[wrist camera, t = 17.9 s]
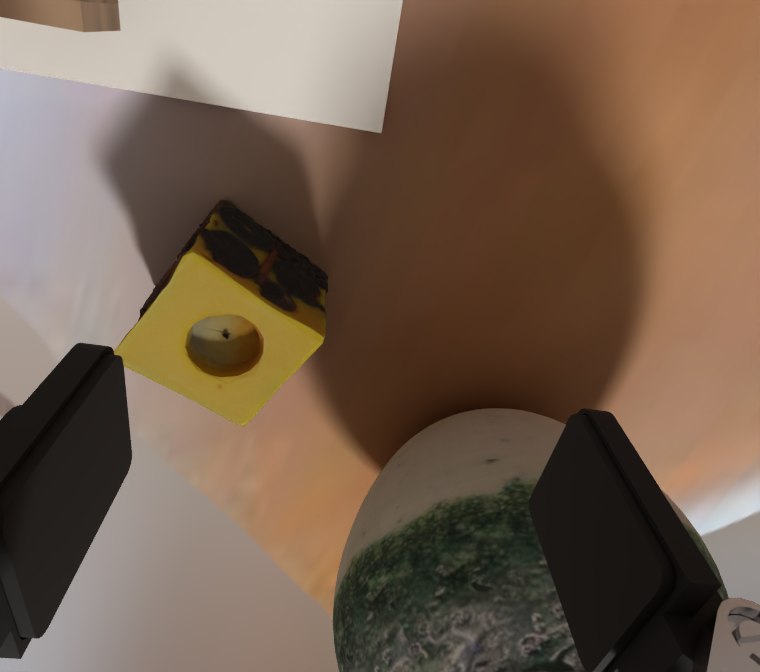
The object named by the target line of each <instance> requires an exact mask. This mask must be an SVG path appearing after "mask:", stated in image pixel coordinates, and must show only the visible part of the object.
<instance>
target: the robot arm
mask: <svg viewBox="0 0 760 672" xmlns="http://www.w3.org/2000/svg"><path fill="white" fill-rule="evenodd" d="M131 460H132V449H131V440H130V428H129V418H128V407H127V397H126V386H125V376H124V365H123V359H122V357H121V356H120V355H114V351H113V349H112V348H111V347H108V346H101V345H93V344H85V343H78V344H76V345H75V346H74V347H73V348H72V349H71V350H70V351H69V352H68V354H67V355H66V356H65V357H64V358H63V359H62V360H61V362H60V363H59V364H58V365H57V366H56V367H55V368H54V370H53V371H52V372H51V373H50V374H49V375H48V376H47V377H46V379H45V380H44V381H43V382H42V383H41V384H40V385H39V387H38V388H37V389H36V390H35V391H34V392H33V393H32V395H31V396H30V397H29V398H28V399H27V400H26V401H25V403H24V404H23V405H19V406H16V407H13V408H12V409H11V410H10V411H9V412H7V413H6V414H5V416H4V417H3V418H2V419H1V420H0V658H17V659H21V658H22V656H23V654H24V652H25V650H26V648H27V646H28V644H29V643H30V641H31V639H32V638H40V637H41V636H42V635H43V634H44V633H45V632H46V630H47V628H48V627H49V625H50V623H51V621H52V619H53V617H54V615H55V613H56V611H57V609H58V607H59V605H60V603H61V601H62V599H63V597H64V595H65V593H66V592H67V590H68V588H69V586H70V584H71V582H72V580H73V578H74V576H75V574H76V572H77V570H78V568H79V566H80V564H81V563H82V561H83V559H84V557H85V555H86V553H87V551H88V549H89V547H90V545H91V543H92V541H93V539H94V537H95V535H96V533H97V531H98V529H99V527H100V526H101V524H102V522H103V520H104V518H105V516H106V514H107V512H108V510H109V508H110V506H111V504H112V502H113V500H114V498H115V496H116V495H117V492H118V491H119V489H120V487H121V485H122V483H123V481H124V479H125V477H126V475H127V473H128V471H129V468H130V465H131ZM529 511H530V515H531V518H532V521H533V524H534V526H535V529H536V532H537V535H538V538H539V541H540V544H541V547H542V550H543V553H544V556H545V559H546V562H547V564H548V567H549V570H550V573H551V576H552V579H553V582H554V585H555V588H556V591H557V594H558V597H559V600H560V603H561V605H562V608H563V611H564V614H565V617H566V620H567V623H568V626H569V629H570V632H571V635H572V638H573V641H574V644H575V646H576V649H577V652H578V655H579V658H580V661H581V663H582V666H583V667H584V669H585V670H586V671H587V672H760V605H759V604H757V603H755V602H752V601H749V600H745V599H742V598H729V599H727V600H725V601H723V599H722V597H721V596H720V594H719V593H718V591H717V590H718V589H719V588H720V587H721V586H722V585H721V583H720V582H719V580H718V578H717V577H716V575H715V574H714V572H713V571H712V569H711V568H710V566H709V564H708V563H707V561H706V560H705V558H704V557H703V555H702V553H701V552H700V550H699V549H698V547H697V546H696V544H695V542H694V541H693V539H692V538H691V536H690V535H689V533H688V531H687V530H686V528H685V527H684V525H683V524H682V522H681V520H680V519H679V517H678V516H677V514H676V513H675V511H674V509H673V508H672V506H671V505H670V503H669V502H668V500H667V498H666V497H665V495H664V494H663V492H662V491H661V489H660V487H659V486H658V484H657V483H656V481H655V480H654V478H653V476H652V475H651V473H650V472H649V470H648V469H647V467H646V465H645V464H644V462H643V461H642V459H641V458H640V456H639V454H638V453H637V451H636V450H635V448H634V447H633V445H632V444H631V442H630V440H629V439H628V437H627V436H626V434H625V433H624V431H623V429H622V428H621V426H620V425H619V423H618V422H617V420H616V418H615V417H614V416H613V414H612V413H610V412H607V411H599V410H592V409H581V410H580V411H579V412H578V413H577V414H573V415H572V416H571V417H570V418H569V420H568V422H567V424H566V426H565V428H564V430H563V432H562V434H561V436H560V438H559V440H558V442H557V444H556V446H555V448H554V450H553V452H552V454H551V456H550V458H549V460H548V462H547V464H546V466H545V468H544V470H543V472H542V474H541V476H540V478H539V480H538V482H537V484H536V486H535V488H534V490H533V492H532V494H531V497H530V501H529Z"/></svg>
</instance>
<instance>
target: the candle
mask: <svg viewBox="0 0 760 672" xmlns="http://www.w3.org/2000/svg"><path fill="white" fill-rule="evenodd" d="M199 226H200V227H199V228H198V229H197V230H196V231H195V233H194V234H193V236H192V237H191V238H190V240H189V241H188V243H187V244H186V245H185V247H184V248H183V249H182V250H181V251H182V252H181V253H180V254H179V255H177V259H178V260H177V262H175V263H174V264H173V266H172V267H171V268H170V269H169V270H168V272H167V273H166V274H165V275H164V277H163V278H162V279H161V281H160V283H158V284H157V286H156V287H155V288H154V289H153V292H152V294H151V295H150V297H149V298H148V299H147V300H146V302H145V304H144V305H143V308H141V309H140V318H139V320H138V322H137V323H136V325H135V326H134V327H133V328H132V329H131V330H130V331H129V332H128V333H127V335H126V336H125V337H124V339H123V340H122V341H121V343H120V344H119V345H118V347H117V348H116V349H115V350H114V355H120V356H121V357H122V359H123V365H124V366H125V367H127V368H129V369H131V370H133V371H135V372H137V373H139V374H141V375H143V376H145V377H147V378H149V379H151V380H153V381H155V382H157V383H159V384H161V385H163V386H165V387H167V388H169V389H171V390H173V391H175V392H177V393H179V394H181V395H183V396H185V397H187V398H189V399H191V400H193V401H195V402H197V403H199V404H200V405H202V406H204V407H206V408H208V409H210V410H211V411H213V412H215V413H217V414H219V415H220V416H222V417H224V418H226V419H228V420H230V421H232V422H234V423H236V424H238V425H240V426H243V427H244V426H245V425H246V424H247V423H248V422H249V421H250V420H251V419H252V418H253V417H254V416H255V415H256V413H257V412H258V411H259V410H260V409H261V408H262V407H263V406H264V405H265V403H266V402H267V401H268V400H269V398H270V397H271V396H272V395H273V394H274V393H275V392H276V391H277V389H278V388H279V387H280V386H281V385H282V384H283V383H284V382H285V381H286V380H287V379H288V378H289V377H290V376H291V375H292V374H293V373H294V372H295V371H296V370H298V369H299V368H300V367H301V365H302V364H303V363H304V362H305V361H306V360H307V359H308V358H309V357H310V356H311V355H312V354H313V353H314V352H315V351H316V350H317V349H318V348H319V347H320V346H321V345H322V343H323V341H324V338H325V331H326V313H325V308H324V305H325V294H326V293H327V292H328V284H327V280H328V276H327V275H326V274H325V273H324V272H323V271H322V270H321V269H320V268H319V267H317V266H316V265H314V264H312V263H311V262H310V261H309V259H308V258H306V257H305V256H303V255H302V254H298V253H297V252H296V250H295V249H293V248H291V247H290V246H289V245H288V244H286V243H284V242H283V241H282V240H281V239H280V238H279V237H277V236H275V235H273V234H272V233H271V231H270V230H266V229H265V228H263V227H262V226H260V225H259V224H257V223H256V222H255V221H253V220H252V219H251V218H250V217H249V216H247V215H246V214H244V213H243V212H241V211H240V210H238V209H237V208H236V207H235V206H234V205H233V204H232V202H231V201H225V200H220V201H219V202H218V203H217V204H216V206H215V207H214V209H213V210H212V211H211V212H210V213H209V215H208V217H207V218H206V219H205V220H204V222H203V223H202V224H200V225H199Z"/></svg>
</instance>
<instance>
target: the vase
mask: <svg viewBox="0 0 760 672" xmlns="http://www.w3.org/2000/svg"><path fill="white" fill-rule="evenodd" d="M565 426H566V424H564V423H561V422H559V421H557V420H554V419H552V418H549V417H546V416H543V415H539V414H536V413H532V412H528V411H523V410H516V409H503V408H487V409H477V410H471V411H466V412H462V413H458V414H455V415H452V416H449V417H446V418H444V419H442V420H440V421H437V422H436V423H434V424H432V425H430V426H428V427H427V428H425V429H424V430H422V431H420V432H419V433H417V434H416V435H415V436H413V437H412V438H411V439H410V440H408V441H407V442H406V443H405V444H404V445H403V446H402V447H401V448H400V449H399V450H398V451H397V452H396V453H395V454H394V456H393V457H392V458H391V459H390V460H389V461H388V463H387V464H386V466H385V467H384V468H383V470H382V471H381V472H380V474H379V475H378V477H377V478H376V480H375V482H374V483H373V485H372V487H371V488H370V490H369V492H368V494H367V495H366V497H365V499H364V501H363V503H362V505H361V507H360V509H359V511H358V513H357V516H356V518H355V521H354V523H353V526H352V528H351V531H350V533H349V536H348V539H347V542H346V545H345V548H344V551H343V555H342V559H341V562H340V566H339V571H338V575H337V581H336V586H335V594H334V608H333V630H334V644H335V653H336V658H337V662H338V668H339V672H587V671H586V670H585V669H584V667H583V666H582V663H581V661H580V658H579V655H578V652H577V649H576V646H575V644H574V641H573V638H572V635H571V632H570V629H569V626H568V623H567V620H566V617H565V614H564V611H563V608H562V605H561V603H560V600H559V597H558V594H557V591H556V588H555V585H554V582H553V579H552V576H551V573H550V570H549V567H548V564H547V562H546V559H545V556H544V553H543V550H542V547H541V544H540V541H539V538H538V535H537V532H536V529H535V526H534V524H533V521H532V518H531V515H530V511H529V501H530V497H531V494H532V492H533V490H534V488H535V486H536V484H537V482H538V480H539V478H540V476H541V474H542V472H543V470H544V468H545V466H546V464H547V462H548V460H549V458H550V456H551V454H552V452H553V450H554V448H555V446H556V444H557V442H558V440H559V438H560V436H561V434H562V432H563V430H564V428H565ZM661 491H662V490H661ZM662 492H663V491H662ZM663 494H664V495H665V497H666V498H667V500H668V502H669V503H670V505H671V506H672V508H673V509H674V511H675V513H676V514H677V516H678V517H679V519H680V520H681V522H682V524H683V525H684V527H685V528H686V530H687V531H688V533H689V535H690V536H691V538H692V539H693V541H694V542H695V544H696V546H697V547H698V549H699V550H700V552H701V553H702V555H703V557H704V558H705V560H706V561H707V563H708V564H709V566H710V568H711V569H712V571H713V572H714V574H715V575H716V577H717V578H718V580H719V582H720V583H721V585H722V586H721V587H720V588H719V589H718V590H717V591H718V593H719V594H720V596H721V597H722V599H723V601H725V600H727V599H729V598H728V594H727V591H726V588H725V586H724V584H723V581H722V578H721V576H720V573H719V570H718V568H717V566H716V564H715V562H714V560H713V558H712V556H711V555H710V553H709V551H708V549H707V547H706V546H705V544H704V542H703V540H702V538H701V536H700V535H699V534H698V532H697V531H696V530H695V528H694V527H693V525H692V524H691V523H690V521H689V520H688V519H687V517H686V516H685V515H684V514H683V512H682V511H681V510H680V509H679V508H678V506H677V505H676V504H675V503H674V502H673V501H672V500H671V499H670V498H669V497H668V496H667V495H666V494H665V493H664V492H663Z"/></svg>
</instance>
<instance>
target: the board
mask: <svg viewBox="0 0 760 672" xmlns="http://www.w3.org/2000/svg"><path fill="white" fill-rule="evenodd" d="M402 2H403V0H118V5H119V17H120V30H121V31H102V32H80V31H74V30H69V29H63V28H58V27H52V26H47V25H41V24H36V23H30V22H25V21H19V20H14V19H9V18H3V17H0V68H1V69H7V70H13V71H19V72H25V73H31V74H37V75H42V76H48V77H54V78H60V79H66V80H72V81H78V82H83V83H89V84H95V85H101V86H107V87H113V88H119V89H124V90H130V91H136V92H142V93H148V94H154V95H160V96H166V97H171V98H177V99H183V100H189V101H195V102H201V103H207V104H212V105H218V106H224V107H230V108H236V109H242V110H248V111H253V112H259V113H265V114H271V115H277V116H283V117H289V118H295V119H300V120H306V121H312V122H318V123H324V124H330V125H336V126H341V127H347V128H353V129H359V130H365V131H371V132H377V133H382V127H383V120H384V114H385V108H386V102H387V96H388V89H389V83H390V77H391V71H392V65H393V58H394V52H395V46H396V40H397V34H398V27H399V21H400V15H401V9H402Z"/></svg>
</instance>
